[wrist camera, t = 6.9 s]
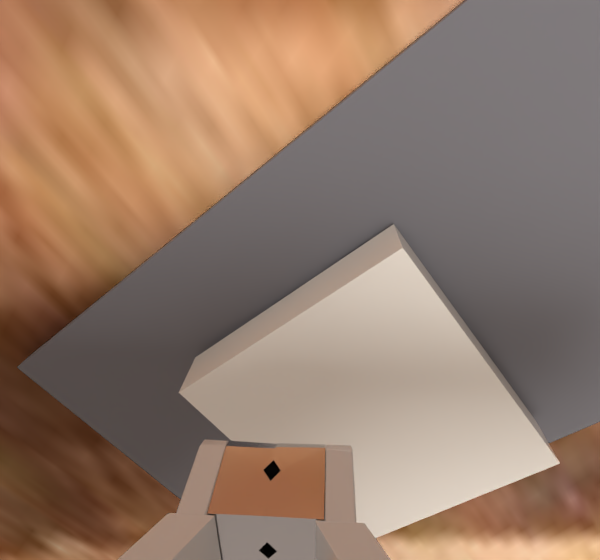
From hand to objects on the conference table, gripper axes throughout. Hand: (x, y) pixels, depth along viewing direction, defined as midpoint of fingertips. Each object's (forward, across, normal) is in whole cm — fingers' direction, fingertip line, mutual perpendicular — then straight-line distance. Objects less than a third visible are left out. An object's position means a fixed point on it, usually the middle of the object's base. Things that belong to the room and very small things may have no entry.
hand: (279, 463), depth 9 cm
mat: (+6, -2, +1) cm, 7 cm away
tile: (+5, 0, -1) cm, 5 cm away
